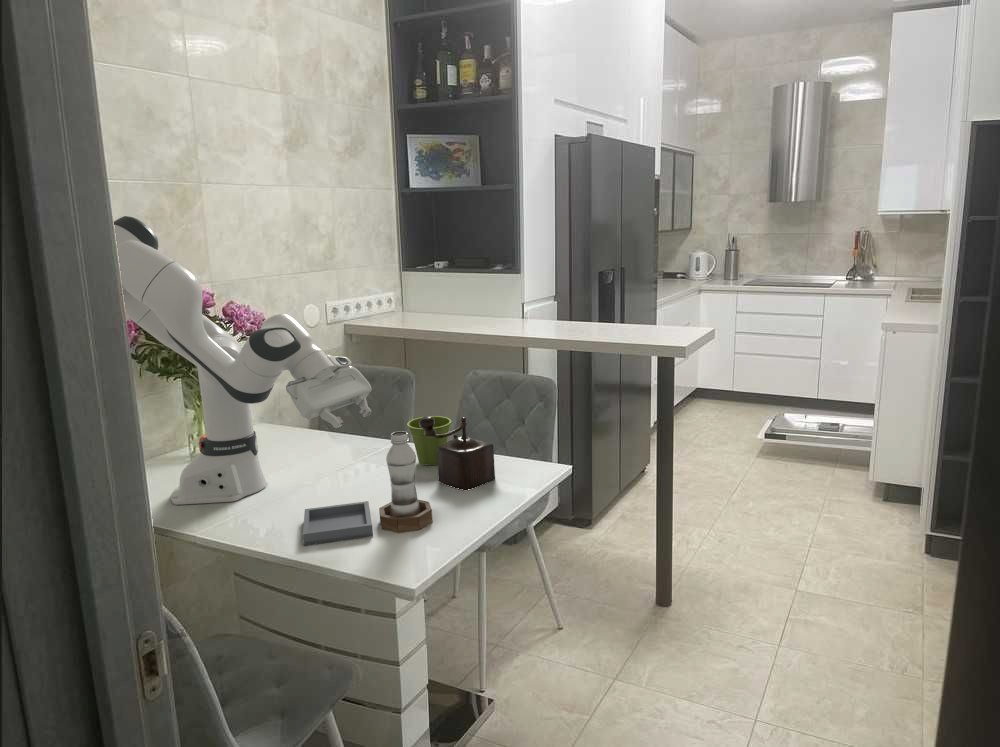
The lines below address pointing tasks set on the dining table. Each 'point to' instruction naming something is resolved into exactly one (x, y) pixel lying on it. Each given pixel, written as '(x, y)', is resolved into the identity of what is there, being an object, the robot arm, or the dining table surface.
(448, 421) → the plant pot
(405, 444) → the plastic bottle
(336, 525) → the charcoal tray
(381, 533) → the dining table surface
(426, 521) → the walnut collar
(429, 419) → the manual coffee grinder
